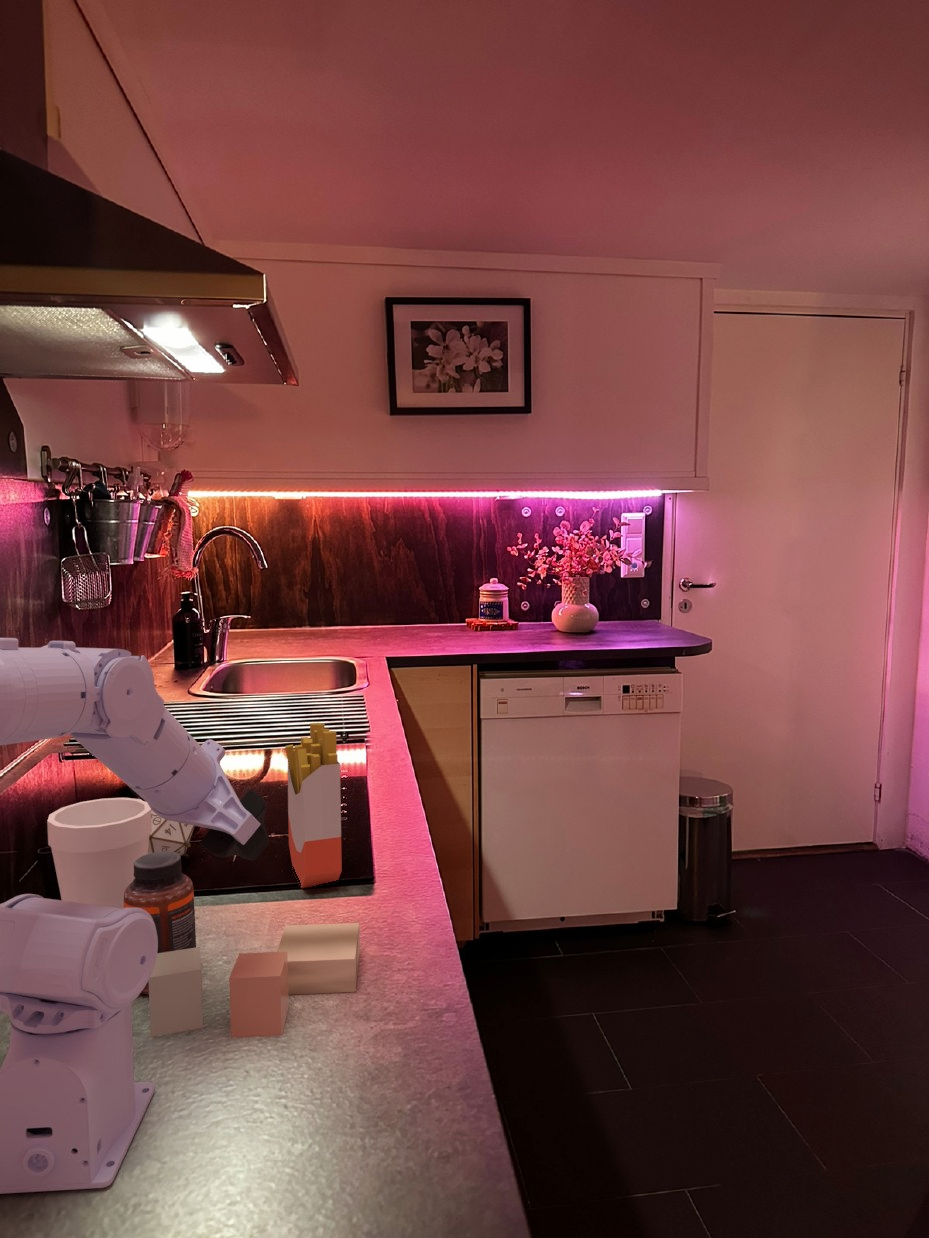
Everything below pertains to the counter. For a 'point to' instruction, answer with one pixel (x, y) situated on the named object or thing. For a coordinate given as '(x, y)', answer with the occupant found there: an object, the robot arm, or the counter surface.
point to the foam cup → (98, 848)
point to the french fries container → (315, 807)
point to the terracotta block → (259, 994)
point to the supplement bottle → (164, 900)
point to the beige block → (176, 992)
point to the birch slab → (321, 957)
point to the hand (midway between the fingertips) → (230, 828)
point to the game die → (169, 835)
